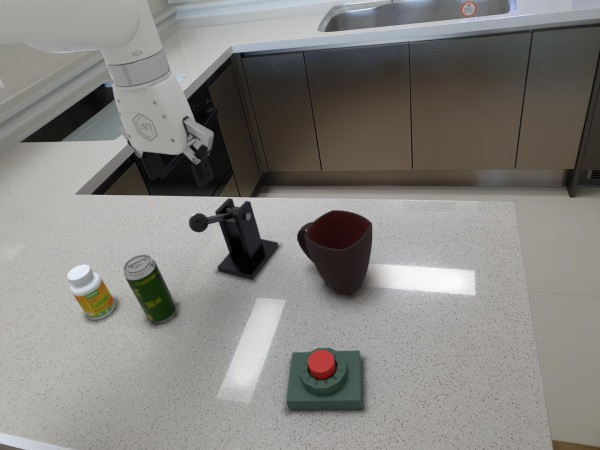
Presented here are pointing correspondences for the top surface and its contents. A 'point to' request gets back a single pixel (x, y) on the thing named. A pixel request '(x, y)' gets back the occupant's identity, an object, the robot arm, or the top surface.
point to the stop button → (321, 364)
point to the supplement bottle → (90, 292)
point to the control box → (325, 383)
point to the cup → (339, 248)
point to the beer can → (149, 288)
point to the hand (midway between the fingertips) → (181, 179)
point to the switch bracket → (243, 243)
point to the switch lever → (210, 219)
